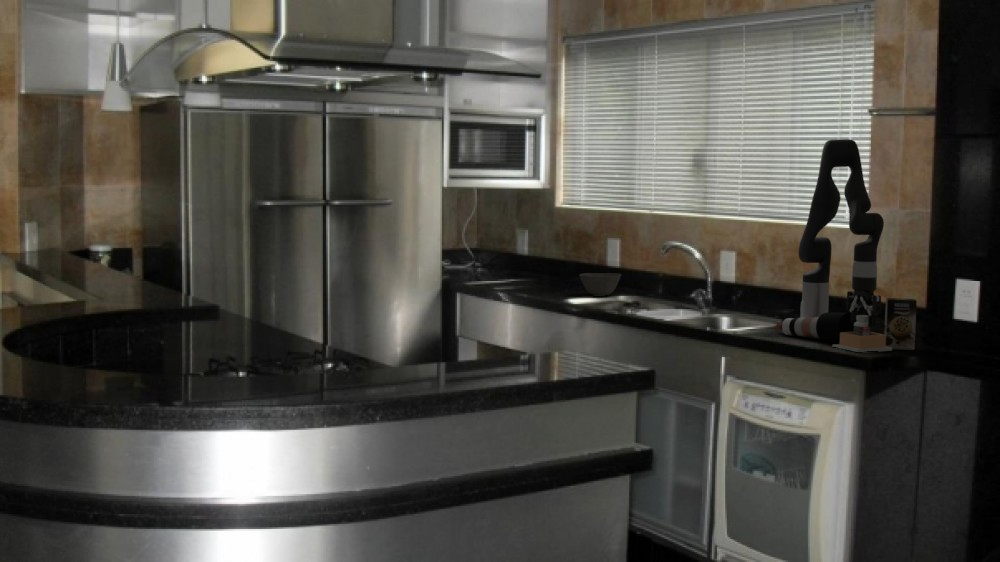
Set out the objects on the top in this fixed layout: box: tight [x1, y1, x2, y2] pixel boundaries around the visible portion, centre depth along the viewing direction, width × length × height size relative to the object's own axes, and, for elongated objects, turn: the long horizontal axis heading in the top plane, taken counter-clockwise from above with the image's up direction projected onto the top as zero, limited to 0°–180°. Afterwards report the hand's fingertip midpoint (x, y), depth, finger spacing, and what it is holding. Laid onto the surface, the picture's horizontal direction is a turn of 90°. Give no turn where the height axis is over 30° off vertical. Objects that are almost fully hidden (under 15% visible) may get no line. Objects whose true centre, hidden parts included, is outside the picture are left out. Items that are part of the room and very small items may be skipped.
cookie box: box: [883, 297, 918, 351], centre depth 389 cm, size 9×6×16 cm
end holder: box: [832, 331, 893, 353], centre depth 387 cm, size 12×14×5 cm
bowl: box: [578, 272, 622, 296], centre depth 541 cm, size 19×19×10 cm
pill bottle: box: [854, 314, 872, 336], centre depth 387 cm, size 5×5×10 cm
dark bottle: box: [775, 311, 854, 344], centre depth 410 cm, size 10×34×10 cm, turn 30°
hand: (862, 325), depth 387 cm, fingers open, 8 cm apart
